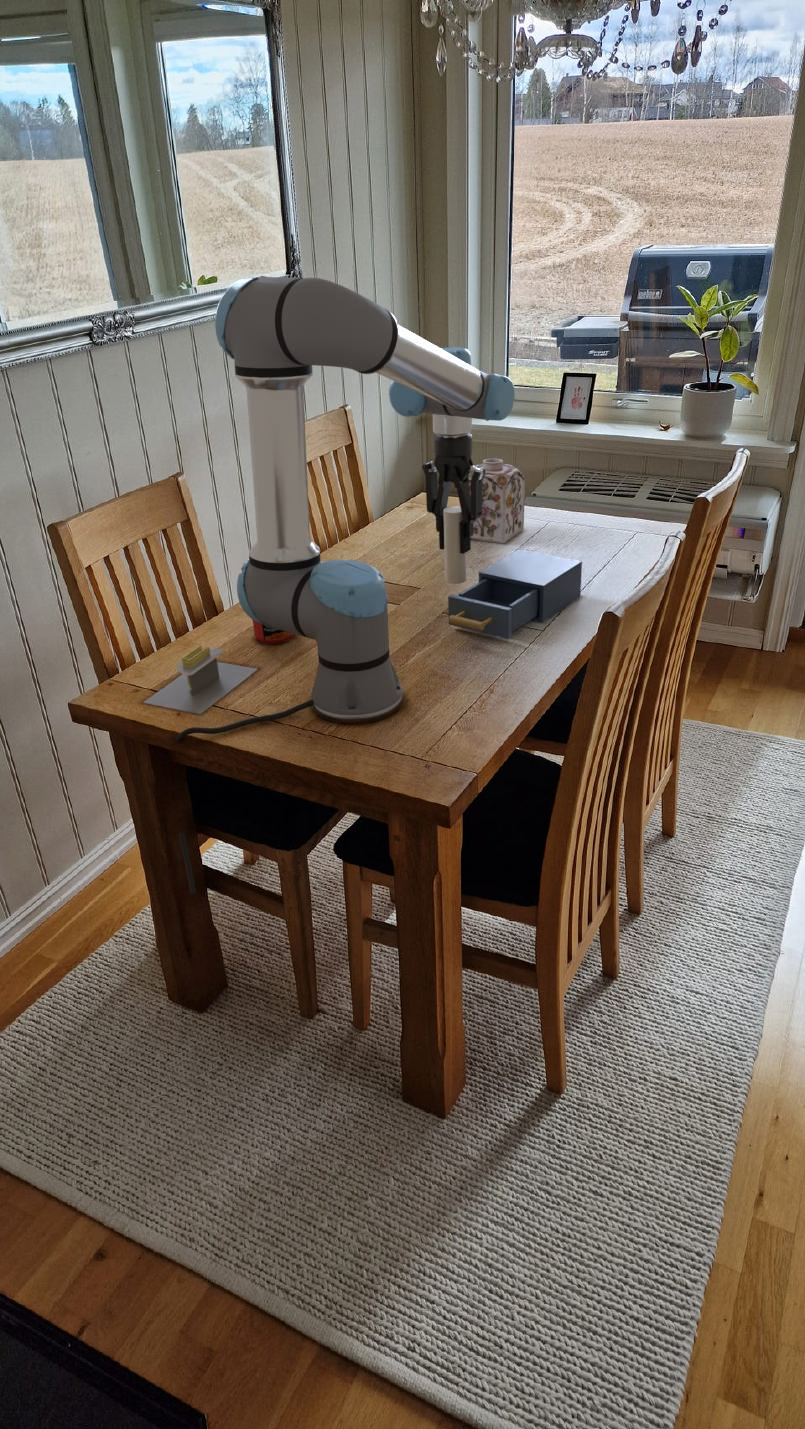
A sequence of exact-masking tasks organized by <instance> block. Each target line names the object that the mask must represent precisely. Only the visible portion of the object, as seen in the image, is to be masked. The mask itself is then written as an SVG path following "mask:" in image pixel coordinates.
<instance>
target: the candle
mask: <svg viewBox="0 0 805 1429" xmlns="http://www.w3.org/2000/svg"><path fill="white" fill-rule="evenodd" d="M443 514H444V549H443V550H444V552H443V553H444V580H445V582H446V583H448V584H451V585H452V584H453V585H454V584H455V585H457V584H458V585H459V584H463V583H465V582H467V552H466V553H464V554H462V553H460V522H461V521H462V520H463V516H462V511H461V507H460V505H459V506H457V505H453V506H451V505H450V506H447V508H444V510H443Z"/></svg>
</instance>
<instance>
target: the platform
mask: <svg viewBox="0 0 805 1429" xmlns="http://www.w3.org/2000/svg"><path fill="white" fill-rule="evenodd" d="M206 646H207V647H205V648H204V649H202V644H199V645H198V646H197V647H195V648H194V649H193V650H190V652H188V653H187V654H185V655H184V656H183V657H181V662H180V663H179V664H177V665H176V671H177V672H179V673H180V674H181V675H179V676H178V677H176V678H175V679H174V680H172V681H171V682H169V683H168V684H166V685H165V686H163V688H160V690H158V691H157V692H155V693H154V694H153V695H151V696H150V697H148V698H147V699H146V700H144V701H143V702H142V703H143V704H148V705H151V706H158V707H163V708H167V709H172V710H178V711H183V712H188V713H191V714H198V715H201V714H203V713H204V712H205V711H207V710H208V709H210V708H211V706H213V705H214V704H216V703H217V702H218V701H220V700H221V699H222V698H223V697H225V696H226V695H227V694H229V692H231V691H232V690H234V689H235V688H236V687H238V686H239V685H240V684H241V683H242V682H243V681H245V680H247V679H248V678H249V677H250V676H251V675H252V674H254V673H255V672H256V671H258V670H259V668H256V667H249V666H244V665H238V664H233V663H227V662H220V661H218V660H217V658H218V657H219V656H221V655H222V654H223V652H224V651H223V649H222V648H217V647H215V648H214V647H213V648H210V645H206Z"/></svg>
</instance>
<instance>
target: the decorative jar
mask: <svg viewBox="0 0 805 1429" xmlns="http://www.w3.org/2000/svg"><path fill="white" fill-rule="evenodd" d="M474 466H475V467H477V468H478V469H482V468H483V469H485V475H484V478H483V504H482V517H480V518H478V519H476V520H474V528H473V529H474V530H473V531H474V534H473V536H471V540H474V541H482V542H489V543H495V544H503V545H504V544H506V543H507V542H508V541H510V540H511V539H512V538H514V537H515V536H517V535H518V534H519V533H521V532H522V531H524V527H525V499H526V498H525V497H526V496H525V486H526V484H525V482H526V477H525V476H524V474H523V473H522V472H521V470H519V468H516V467H515V466H514V465H513V464H506V463H504V460H503V459H501V458H496V457H495V458H493V457H492V458H491V457H490V458H485V459H483V460H482V463H481V464H476V465H474ZM470 476H471V473H469V475H468V477H469V490H470V495H471V478H470Z"/></svg>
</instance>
